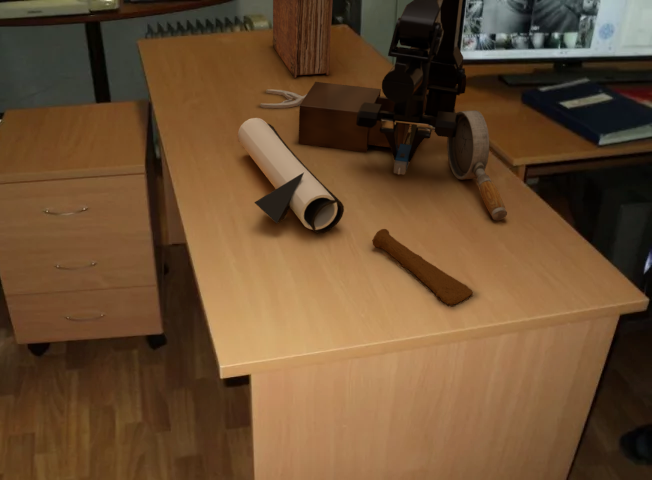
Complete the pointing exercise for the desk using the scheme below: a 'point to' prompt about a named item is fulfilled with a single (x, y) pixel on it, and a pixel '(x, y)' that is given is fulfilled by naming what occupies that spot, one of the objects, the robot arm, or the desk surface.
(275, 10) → the book
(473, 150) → the magnifying glass
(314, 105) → the cabinet
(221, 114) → the desk surface
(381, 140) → the drawer
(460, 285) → the primitive tool
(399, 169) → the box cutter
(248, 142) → the diploma
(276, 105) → the pliers
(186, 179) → the desk surface
